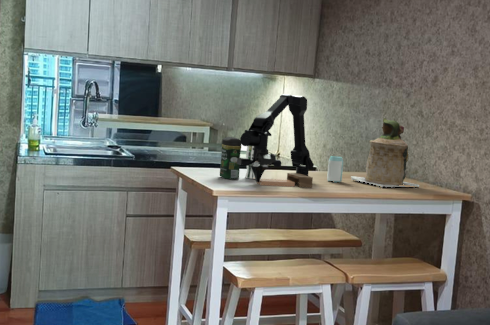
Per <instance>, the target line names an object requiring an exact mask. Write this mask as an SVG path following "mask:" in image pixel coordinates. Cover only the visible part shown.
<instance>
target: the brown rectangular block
mask: <svg viewBox="0 0 490 325" xmlns="http://www.w3.org/2000/svg"><path fill="white" fill-rule="evenodd" d="M286 174H287V176H286V180H290V181H292V182H294V183H295V184H298V188H313V180H314V179H313V176H309V175H308V176H306V175H303V174H300V173H296V172H287V173H286Z"/></svg>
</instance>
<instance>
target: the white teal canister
mask: <svg viewBox="0 0 490 325" xmlns="http://www.w3.org/2000/svg"><path fill="white" fill-rule="evenodd" d="M327 164H328V165H327V176H326V180H327V181H328V182H329V181H334V182H333V183H337V182H339V183H342V181H343V170H344V159H343V157H342V156H337V155H336V156H335V155H331V156H330V157H329V159H328V163H327Z"/></svg>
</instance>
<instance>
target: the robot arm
mask: <svg viewBox="0 0 490 325" xmlns="http://www.w3.org/2000/svg"><path fill="white" fill-rule="evenodd" d="M287 107H288V110H289V112H290V114H291V115H292V122H293V124H292V125H293V126H292V127H293V140H294V147H293V149H292V150H290V160H291V165H292V167H294V168H296V169H295V173H300V174H303V175H306V176H309V170H313V169H314V165H315V164H314V163H313V161H312V159H311V155H310V151H309V149H308V147H307V146H306V130H305V128H306V126H305V114H306V112H307V110H308V98H307V97H306V96H303V95H291V94H285V93H283V94H281V95H279V98H278V99H277V100H276V101H275V102H274V103H273V104H272V105H271V106H270V107H269V108H268V109H267V110H266V111H265V112H263V113H259V114H258V115H257V116H255V117H254V119H253V121H252V123H251V125H250V126H249V128H248V129H244V132H243V133H242V134H241V136H240V138H239V140H240V141H241V146H243V147H247V146H254V148H253V150H254V152H253V157H252V160H250V159H248V158H246V157H240V158H238V159H237V164H239V165H240V166H246V167H247V166H250V167H251V168H252V170H253V173H254V176H255V179H254V180H255V183H257V182H259V181H260V179H262V176H263V174H264V172H265V171H266V170H267V169H270V167H269V166H273V167H276V168H281V167H282V161H281V160H280V159H277V155H276V153H270V154H269V149H268V143H269V142H268V141H269V137H271V136H272V134H271V132H270V130H271V129H272V128H273V125H275V120H276V119H277V117H278V116H279V115H280V114H281V113H282V112H283V111H284V110H285V108H287ZM259 164H260V165H259Z"/></svg>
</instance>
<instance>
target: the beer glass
mask: <svg viewBox="0 0 490 325" xmlns="http://www.w3.org/2000/svg"><path fill="white" fill-rule="evenodd" d="M253 148H254V146H246V150H245V151H246V152H245V153H246V154H245V158H248V159H250V160H252V157H253V152H254V150H253ZM259 165H260V164H259ZM244 176H245V178H246V179H248V178H249V179H250V180H256V179H255V176H254V173H253V170H252V168H251V167H250V166H246V173H245V175H244Z"/></svg>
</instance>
